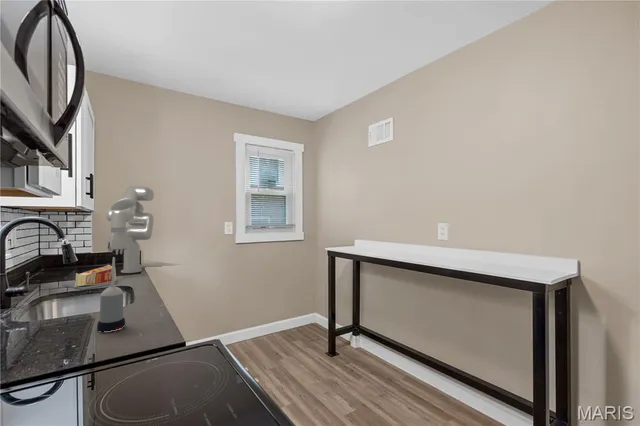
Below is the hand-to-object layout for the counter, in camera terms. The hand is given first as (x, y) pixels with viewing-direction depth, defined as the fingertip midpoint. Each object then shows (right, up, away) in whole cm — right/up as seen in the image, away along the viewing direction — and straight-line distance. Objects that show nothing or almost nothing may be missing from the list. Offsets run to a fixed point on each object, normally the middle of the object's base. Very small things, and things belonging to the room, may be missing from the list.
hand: (117, 260), depth 190 cm
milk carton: (-1, -6, -5) cm, 8 cm away
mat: (-6, -11, -14) cm, 19 cm away
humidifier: (+50, -12, -81) cm, 96 cm away
